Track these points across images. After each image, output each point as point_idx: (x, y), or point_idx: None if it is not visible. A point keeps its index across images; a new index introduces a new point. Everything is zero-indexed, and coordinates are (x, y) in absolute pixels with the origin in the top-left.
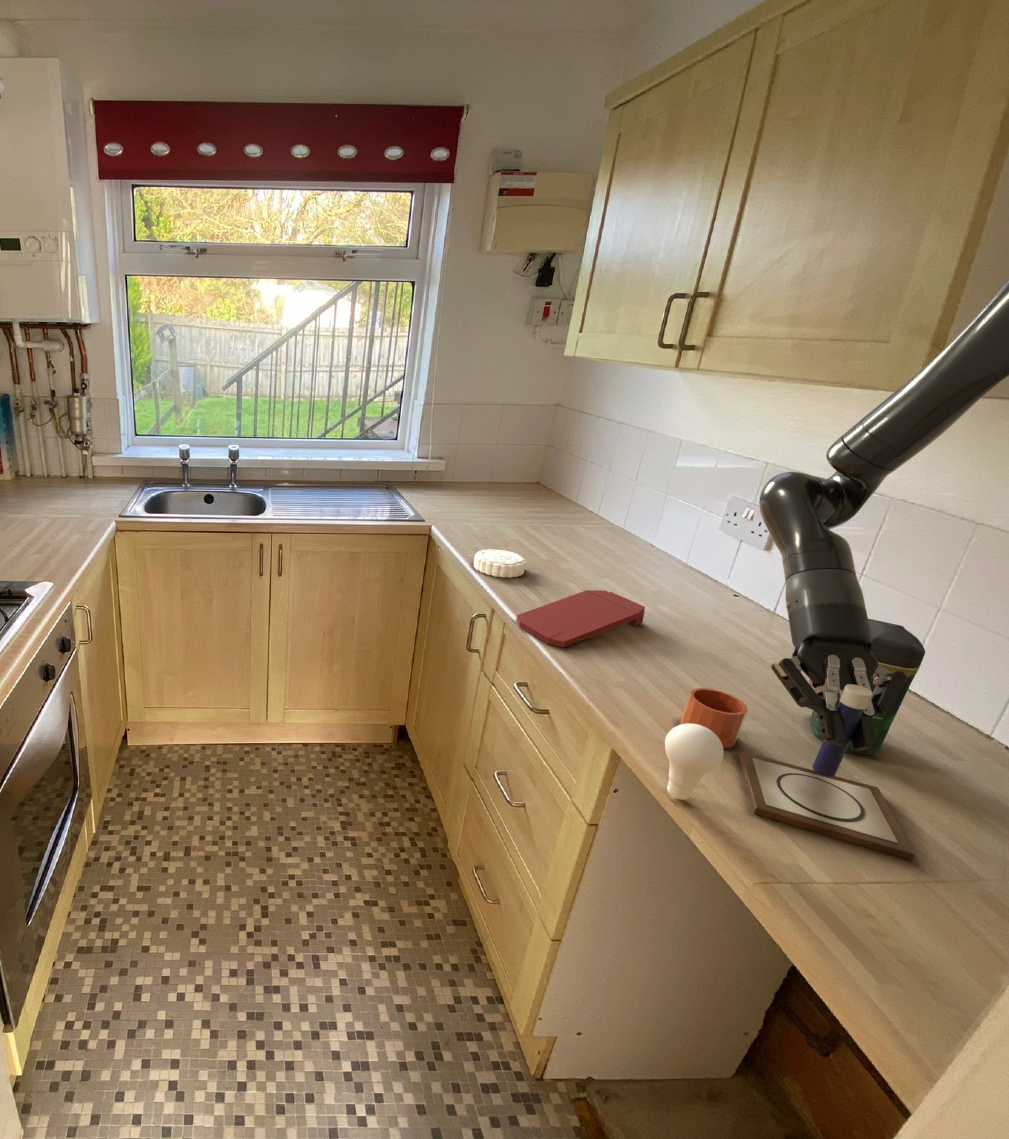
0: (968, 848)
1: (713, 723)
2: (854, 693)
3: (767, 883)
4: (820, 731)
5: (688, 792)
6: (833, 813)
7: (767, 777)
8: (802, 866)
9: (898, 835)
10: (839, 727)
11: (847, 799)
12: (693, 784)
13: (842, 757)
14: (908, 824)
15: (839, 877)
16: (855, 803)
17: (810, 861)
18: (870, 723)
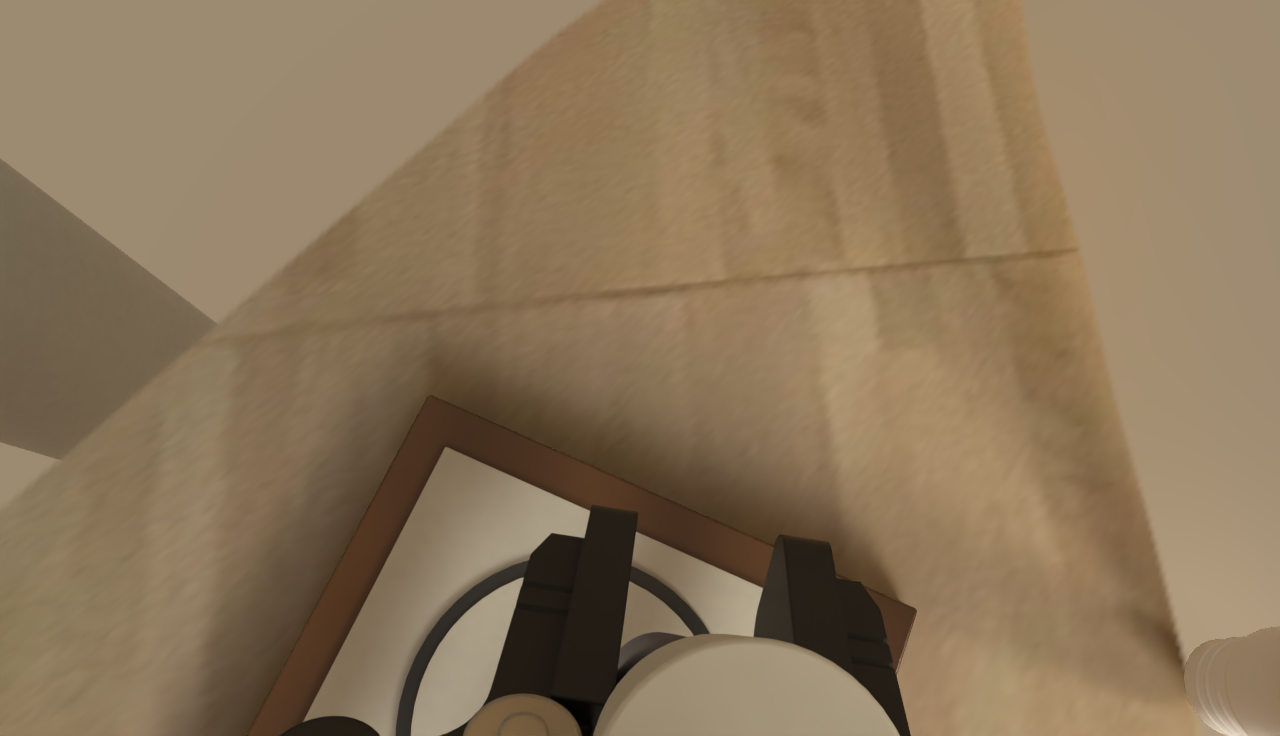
0: (125, 497)
1: None
2: (878, 704)
3: (1038, 252)
4: None
5: (1239, 638)
6: None
7: None
8: (873, 336)
9: (399, 496)
10: (816, 617)
11: (443, 716)
12: (1278, 628)
13: (633, 644)
14: (246, 620)
15: (772, 300)
16: (428, 687)
17: (828, 363)
18: (519, 665)
